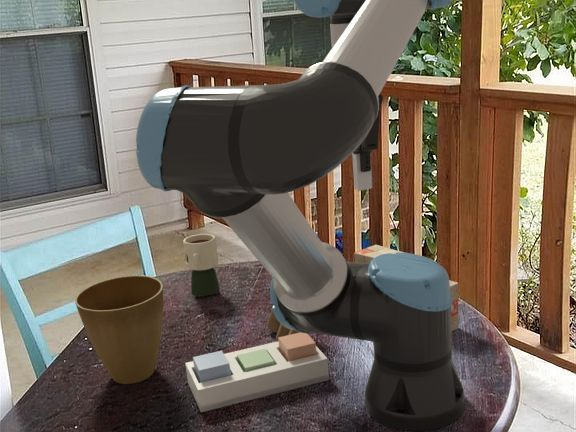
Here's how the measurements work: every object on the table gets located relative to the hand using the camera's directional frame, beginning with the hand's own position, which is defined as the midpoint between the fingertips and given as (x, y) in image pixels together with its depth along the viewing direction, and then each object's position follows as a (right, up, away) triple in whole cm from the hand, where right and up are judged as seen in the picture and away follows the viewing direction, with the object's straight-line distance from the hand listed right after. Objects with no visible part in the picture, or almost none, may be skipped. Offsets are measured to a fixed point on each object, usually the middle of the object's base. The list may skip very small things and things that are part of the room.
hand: (363, 188), depth 127 cm
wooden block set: (-12, -28, +14) cm, 34 cm away
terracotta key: (-11, -29, 0) cm, 31 cm away
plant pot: (-41, -33, +4) cm, 53 cm away
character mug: (-31, -22, +38) cm, 54 cm away
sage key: (-18, -32, -2) cm, 37 cm away
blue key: (-25, -32, -5) cm, 41 cm away
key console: (-18, -33, -2) cm, 37 cm away
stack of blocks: (+10, -25, +18) cm, 32 cm away
